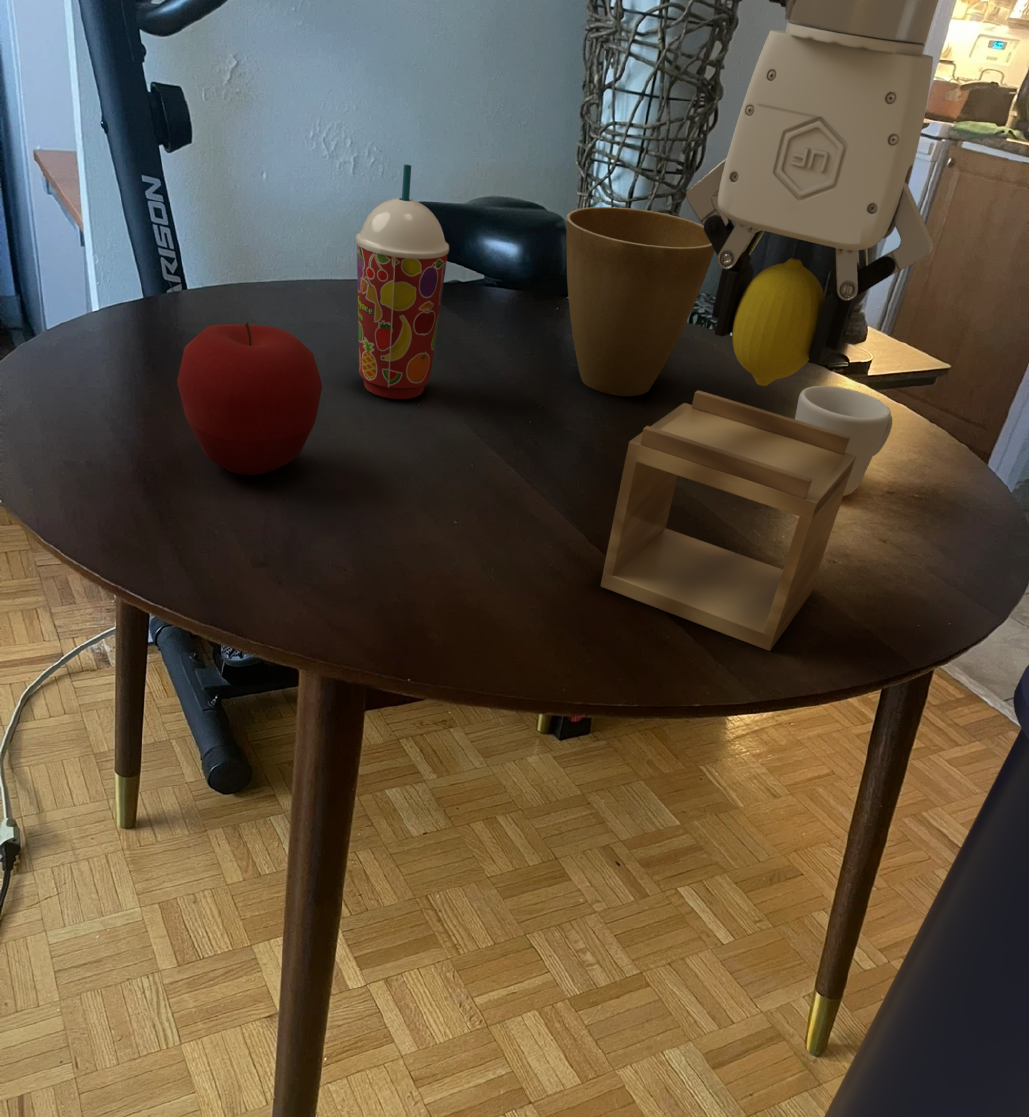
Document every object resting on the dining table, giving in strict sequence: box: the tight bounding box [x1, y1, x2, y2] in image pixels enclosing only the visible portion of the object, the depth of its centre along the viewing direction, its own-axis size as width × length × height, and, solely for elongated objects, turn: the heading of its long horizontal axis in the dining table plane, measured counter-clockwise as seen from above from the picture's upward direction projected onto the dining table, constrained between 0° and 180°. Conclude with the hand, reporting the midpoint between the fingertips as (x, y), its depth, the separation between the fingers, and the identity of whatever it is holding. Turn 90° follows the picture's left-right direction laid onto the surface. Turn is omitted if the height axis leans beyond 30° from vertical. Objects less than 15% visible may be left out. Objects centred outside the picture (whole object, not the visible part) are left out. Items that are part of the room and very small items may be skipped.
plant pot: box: [565, 206, 715, 397], centre depth 108 cm, size 15×15×16 cm
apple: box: [176, 321, 323, 476], centre depth 83 cm, size 11×11×12 cm
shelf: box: [600, 390, 856, 652], centre depth 75 cm, size 13×10×12 cm
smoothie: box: [355, 163, 450, 400], centre depth 98 cm, size 8×8×20 cm
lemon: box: [731, 257, 826, 387], centre depth 67 cm, size 6×6×8 cm
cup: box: [794, 385, 894, 497], centre depth 96 cm, size 11×8×8 cm
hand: (773, 341), depth 68 cm, fingers closed on lemon, 5 cm apart
